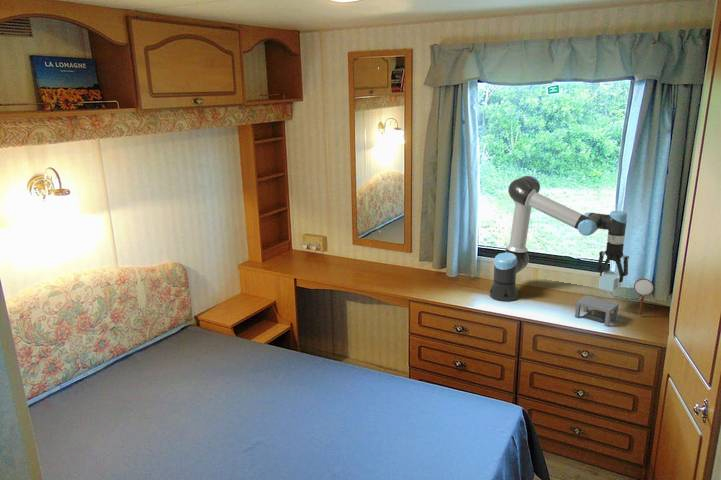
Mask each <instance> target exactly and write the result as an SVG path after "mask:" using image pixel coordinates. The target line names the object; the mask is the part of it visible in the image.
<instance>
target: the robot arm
mask: <svg viewBox="0 0 721 480" xmlns="http://www.w3.org/2000/svg"><path fill="white" fill-rule="evenodd" d="M540 191H541V184H540V182H539V180H538V179H537V178H536V177H535V176H533V175H523V176H521V177H519V178H517V179H515V180H513V181H511V183H510V184H509V186H508V195H509V197H510V198H511V200H512V201H513V202H514V210H513V217H512V225H511V233H510V239H509V244H508V245H507V246H506V247H505V252H500V253H498V254H497V255H495V257H494V262H493V283H492V284H491V287H490V290H489V297H490V298H491V299H493V300H496V301H501V302H513V301H516V300H517V299H518V298H519V293H518V289H517V288H518V287H517V285H516V280H517V279H516V277H517V274H518V273H519V272H521V271H523V270H525V268H526V267H527V266H528V265H529V264H528V263H529V261H530V257H529V254H528V251H529V250H528V248H527V247H526V245H527V239H528V233H529V225H530V221H531V212H532V208H533V209H535V210H536V211H538V212H541V213H543V214H545V215H547V216H549V217H551V218H554V219H556V220H557V221H560V222H561V223H563V224H566V225H567V226H570V227H572V228H574V229H576V230H577V231H578V233H579V234H580V235H582V236H585V237H587V236H591V235H594V234H595V232H596V231H598V230H599V229H600V230H605V231H607V242H606V249H605V250H601V251H599V254H598V255H599V257H598V261H597V266H596V271H599V272H600V273H599V277H600V276H602V275H603V274H605V273H606V272H607V271H605V270H606V268H607V266H608V264H609V263H610V261H613V262H615V264H616V267H617V270H618V273H619V276H618V280H617V289H618V290H619V289H620V288H621V286H620V284H621V282H622V283H623V281H624V277H627V276H628V275H629V259H630V256H629V255H625V254H624V243H625V237H626V229H627V223H628V221H627V217H628V215H627V213H626V212H625V211H622V210H612V211H610V213H609V214H606V213H597V212H588V211H587V212H584V214H583V213H581V212H578V211H576V210H575V209H572V208H571V207H568V206H566V205H563V204H562V203H560V202H557V201H555V200H553V199H551V198H549V197H547V196H545V195H543V194H541V193H539V192H540ZM604 256H606V259H605V261H604ZM621 258H622V260H623V263H622V260H621ZM603 261H604V263H603ZM622 264H623V265H622Z"/></svg>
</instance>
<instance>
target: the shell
mask: <svg viewBox="0 0 721 480" xmlns="http://www.w3.org/2000/svg"><path fill="white" fill-rule="evenodd" d="M605 272H606V273H605V274H603V275H602V276H600V275H599V280H598V289H602V290H606V291H610V292H614V291H616V289H617V280H618V276H619V274H615V273H614V272H615V271H611V270H607V271H605ZM621 286H622V285H621V284H620V287H621Z"/></svg>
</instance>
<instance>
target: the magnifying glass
mask: <svg viewBox="0 0 721 480" xmlns="http://www.w3.org/2000/svg"><path fill="white" fill-rule="evenodd" d="M633 288H634V291H635V293H637V294H638V295H640V302H639V303H640V304H639V310H638V311H639V312H638V317H642V313H643V307H644V300H645V299H644V298H645V296H646V297H647V296H649V295H652V294H653V292H654V290H655V285H654V282H652V281H651V280H650V279H647V278H639V279H638V280H636V281H635V283H634V285H633Z"/></svg>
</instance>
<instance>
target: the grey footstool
mask: <svg viewBox="0 0 721 480" xmlns="http://www.w3.org/2000/svg"><path fill="white" fill-rule="evenodd" d="M619 305H620V303H617V302H614V301H610V300H607V299H606V300H605V299H602V298H598V297H595V296H591V295H585V296H583V297H581V298H580V299H579V300H577V301H576V303H575V313H574V318H576V319H579V318H580V316H581V315H580V314H581V308H582V307H583V311H582V312H584V315H583V318H584V319H586V320H590V321H593V322H597V323H600V324H604V327H606V328H608V327H610V324H611V323H610V322H611V321H610V319H611V313H612V320H613V321H617V320H618V317H619V316H618V314H619V307H620V306H619ZM581 306H582V307H581ZM589 309H593V310H597V311H600V312H603V313H605V318H604V319H603V318H601V317H598V316H594V315H591V314H592V311H591V310H589ZM585 312H586V313H585Z"/></svg>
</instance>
